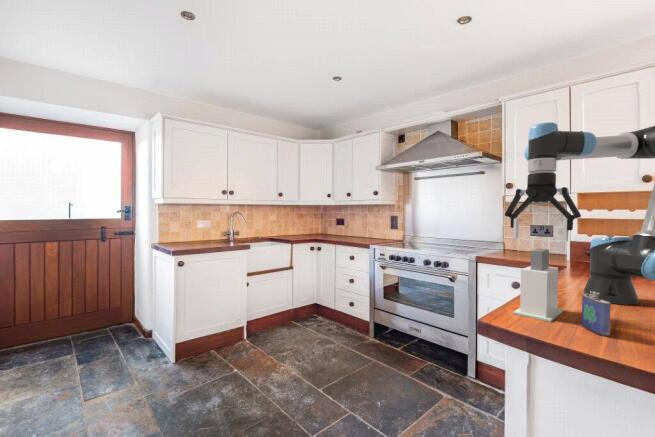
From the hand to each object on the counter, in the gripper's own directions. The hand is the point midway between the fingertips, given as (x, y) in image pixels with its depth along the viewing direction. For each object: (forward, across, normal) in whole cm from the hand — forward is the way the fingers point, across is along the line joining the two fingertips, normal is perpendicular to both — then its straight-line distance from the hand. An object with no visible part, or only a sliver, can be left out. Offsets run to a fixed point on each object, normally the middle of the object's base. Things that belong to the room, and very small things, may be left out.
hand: (539, 239), depth 101 cm
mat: (+23, 0, 0) cm, 23 cm away
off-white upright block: (+23, 0, 0) cm, 23 cm away
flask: (+24, +15, -6) cm, 29 cm away
